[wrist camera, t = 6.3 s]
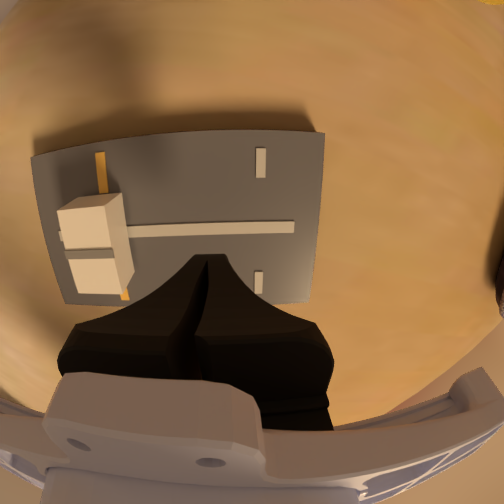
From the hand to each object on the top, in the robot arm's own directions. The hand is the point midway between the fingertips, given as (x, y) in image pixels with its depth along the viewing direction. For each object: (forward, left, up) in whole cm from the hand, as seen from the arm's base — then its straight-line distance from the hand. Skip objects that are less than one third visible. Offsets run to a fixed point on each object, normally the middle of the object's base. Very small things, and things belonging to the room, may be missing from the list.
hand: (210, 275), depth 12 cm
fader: (-5, +4, -5) cm, 8 cm away
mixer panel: (-2, +2, -7) cm, 7 cm away
